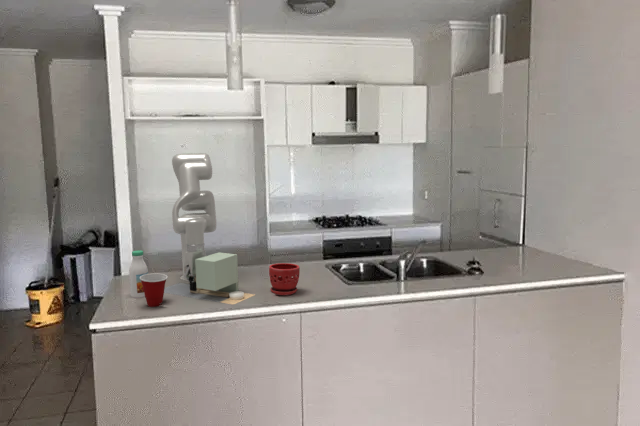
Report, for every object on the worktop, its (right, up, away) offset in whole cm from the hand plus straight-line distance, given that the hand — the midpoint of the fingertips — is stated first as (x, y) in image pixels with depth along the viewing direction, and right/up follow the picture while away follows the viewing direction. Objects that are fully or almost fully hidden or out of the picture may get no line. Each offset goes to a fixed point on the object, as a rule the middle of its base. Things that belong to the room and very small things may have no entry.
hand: (197, 288), depth 233 cm
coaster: (+19, -2, -10) cm, 21 cm away
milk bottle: (-24, -3, -3) cm, 24 cm away
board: (0, -2, 0) cm, 2 cm away
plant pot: (+38, -2, +1) cm, 38 cm away
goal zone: (+19, -4, -10) cm, 22 cm away
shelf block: (+10, -3, -5) cm, 12 cm away
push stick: (+7, -2, -4) cm, 8 cm away
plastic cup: (-14, -5, -14) cm, 20 cm away
